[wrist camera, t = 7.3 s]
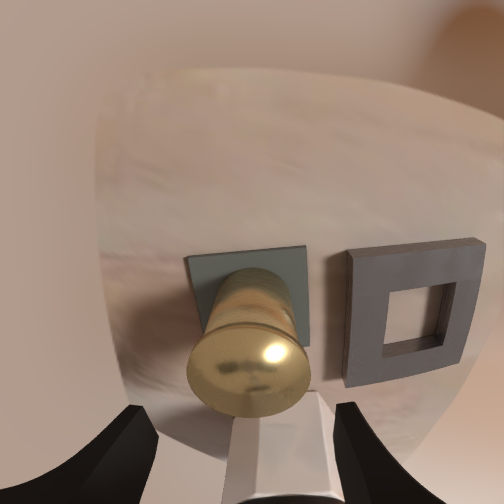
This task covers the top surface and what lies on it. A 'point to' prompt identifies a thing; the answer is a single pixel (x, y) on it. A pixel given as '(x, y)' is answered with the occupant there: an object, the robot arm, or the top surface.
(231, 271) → the mat
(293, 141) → the top surface
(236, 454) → the jar
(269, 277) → the gold rounded piece
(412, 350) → the housing
